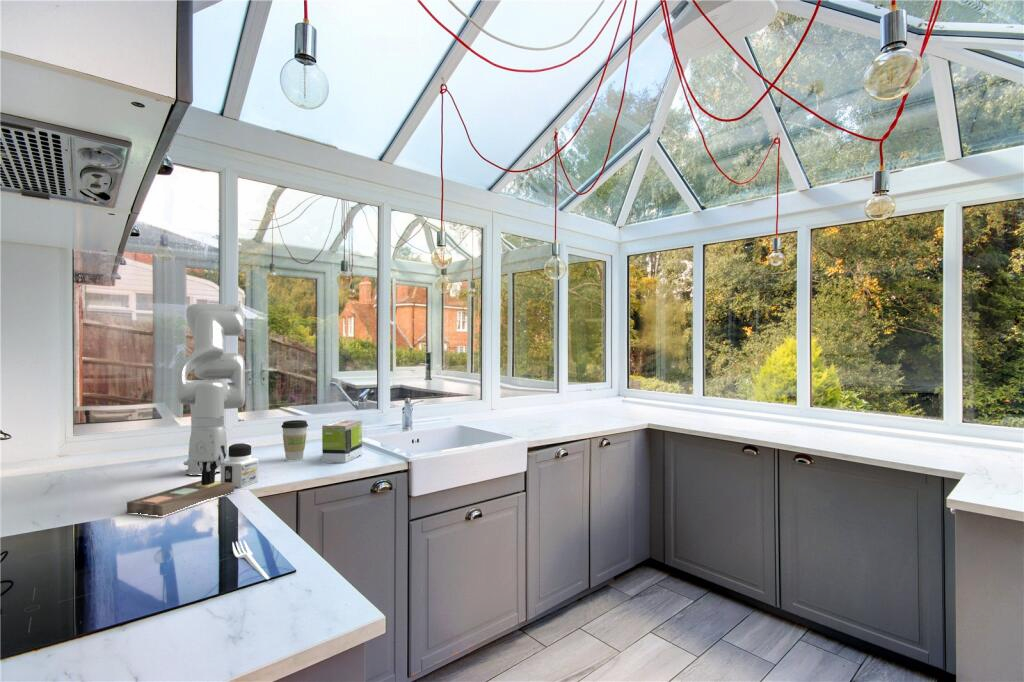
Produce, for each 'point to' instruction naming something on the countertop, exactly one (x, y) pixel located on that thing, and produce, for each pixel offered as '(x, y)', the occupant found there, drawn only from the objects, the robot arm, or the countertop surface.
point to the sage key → (184, 491)
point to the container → (240, 466)
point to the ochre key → (208, 485)
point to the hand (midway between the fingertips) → (208, 483)
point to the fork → (248, 557)
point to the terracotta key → (157, 499)
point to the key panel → (178, 499)
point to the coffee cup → (294, 438)
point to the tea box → (341, 441)
